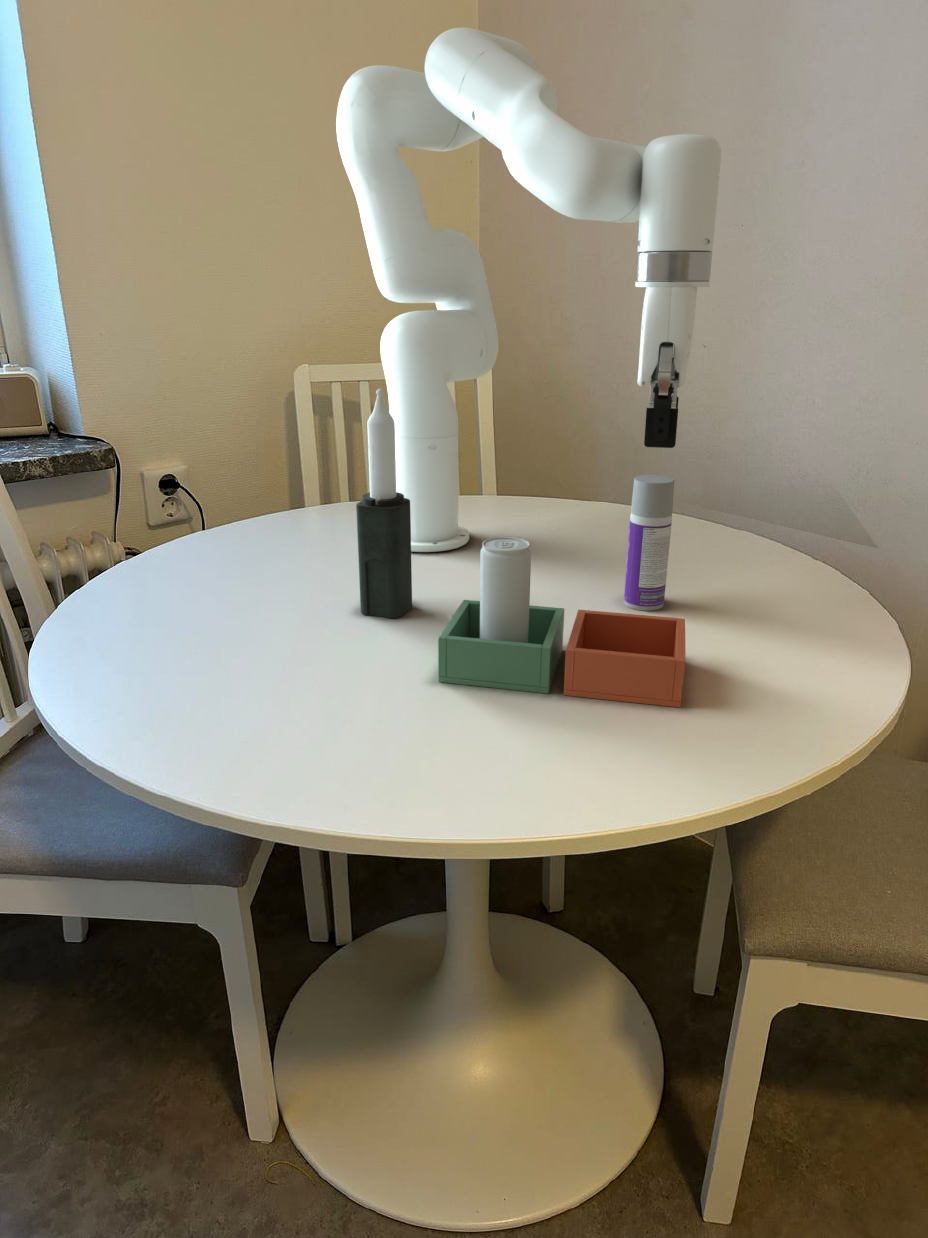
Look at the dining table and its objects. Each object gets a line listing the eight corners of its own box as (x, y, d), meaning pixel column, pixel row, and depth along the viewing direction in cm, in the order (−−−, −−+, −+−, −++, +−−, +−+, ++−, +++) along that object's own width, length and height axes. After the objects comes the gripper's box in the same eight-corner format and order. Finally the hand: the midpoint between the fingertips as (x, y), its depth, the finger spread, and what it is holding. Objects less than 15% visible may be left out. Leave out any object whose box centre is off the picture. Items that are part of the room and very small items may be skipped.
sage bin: (438, 682, 84) (437, 637, 82) (463, 639, 93) (463, 599, 91) (548, 693, 81) (550, 648, 80) (562, 649, 91) (564, 608, 89)
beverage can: (528, 650, 89) (532, 537, 85) (526, 670, 85) (530, 551, 80) (481, 648, 90) (482, 535, 85) (477, 668, 85) (478, 550, 81)
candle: (415, 604, 103) (411, 386, 94) (398, 619, 98) (392, 392, 89) (375, 599, 104) (368, 384, 95) (357, 614, 100) (347, 390, 91)
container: (619, 597, 106) (628, 474, 100) (657, 596, 106) (668, 473, 100) (629, 611, 101) (639, 483, 96) (668, 610, 102) (681, 483, 96)
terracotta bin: (563, 695, 81) (565, 650, 79) (575, 650, 91) (578, 609, 89) (680, 707, 79) (685, 661, 77) (680, 660, 88) (685, 618, 87)
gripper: (639, 272, 99) (630, 426, 105) (631, 271, 83) (621, 452, 89) (708, 272, 97) (694, 428, 103) (713, 270, 81) (696, 454, 88)
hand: (660, 439), depth 96 cm, fingers open, 9 cm apart
